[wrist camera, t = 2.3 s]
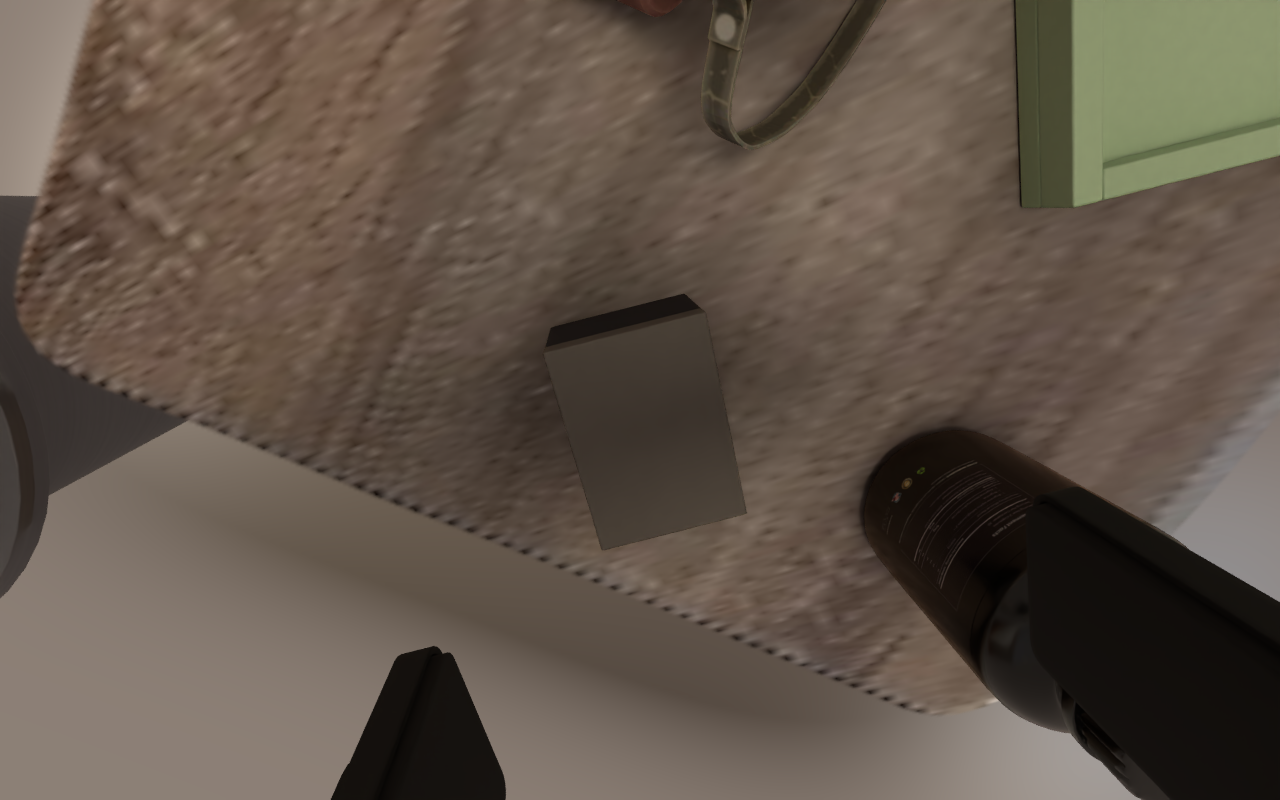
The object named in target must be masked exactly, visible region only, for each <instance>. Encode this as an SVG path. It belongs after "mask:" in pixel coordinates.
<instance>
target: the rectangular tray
mask: <svg viewBox="0 0 1280 800" xmlns="http://www.w3.org/2000/svg"><path fill="white" fill-rule="evenodd" d="M1016 33H1017V66H1018V99H1019V132H1020V165H1021V198H1022V207H1024V208H1042V207H1043V208H1076V207H1080V206H1084V205H1088V204H1091V203H1095V202H1099V201H1101V200H1107V199H1111V198H1115V197H1119V196H1123V195H1127V194H1131V193H1135V192H1139V191H1143V190H1147V189H1151V188H1155V187H1158V186H1162V185H1166V184H1170V183H1174V182H1178V181H1182V180H1186V179H1190V178H1194V177H1198V176H1202V175H1206V174H1210V173H1214V172H1218V171H1222V170H1226V169H1230V168H1233V167H1237V166H1241V165H1245V164H1249V163H1253V162H1257V161H1261V160H1265V159H1269V158H1273V157H1277V156H1280V0H1016Z"/></svg>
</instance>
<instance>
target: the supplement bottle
mask: <svg viewBox="0 0 1280 800" xmlns="http://www.w3.org/2000/svg"><path fill="white" fill-rule="evenodd" d="M1069 487H1081V488H1083V489H1085V490H1087V491H1089V492H1090V493H1092V494H1094V495H1096V496H1097V497H1099V498H1101V499H1103V500H1104V501H1106V502H1108V503H1109V504H1111V505H1113V506H1115V507H1116V508H1118V509H1120V510H1122V511H1123V512H1125V513H1127V514H1128V515H1130V516H1132V517H1134V518H1135V519H1137V520H1139V521H1140V522H1142V523H1144V524H1146V525H1147V526H1149V527H1151V528H1153V529H1154V530H1156V531H1158V532H1159V533H1161V534H1163V535H1165V536H1166V537H1168V538H1170V539H1172V540H1173V541H1175V542H1177V543H1178V544H1180V545H1182V546H1184V545H1183V544H1182V543H1181V542H1179V541H1178V540H1176V539H1175V538H1173V537H1172V536H1170V535H1168V534H1167V533H1165V532H1164V531H1162V530H1160V529H1158V528H1157V527H1155V526H1153V525H1151V524H1150V523H1148V522H1146V521H1144V520H1142V519H1141V518H1139V517H1137V516H1135V515H1133V514H1132V513H1130V512H1128V511H1126V510H1124V509H1122V508H1121V507H1119V506H1117V505H1115V504H1113V503H1112V502H1110V501H1108V500H1106V499H1104V498H1102V497H1101V496H1099V495H1097V494H1095V493H1093V492H1091V491H1090V490H1088V489H1086V488H1084V487H1082V486H1081V485H1079V484H1077V483H1075V482H1073V481H1071V480H1070V479H1068V478H1066V477H1064V476H1062V475H1061V474H1059V473H1057V472H1055V471H1053V470H1051V469H1050V468H1048V467H1046V466H1044V465H1042V464H1041V463H1039V462H1037V461H1035V460H1033V459H1031V458H1030V457H1028V456H1026V455H1024V454H1022V453H1020V452H1019V451H1017V450H1015V449H1013V448H1011V447H1010V446H1007V445H1005V444H1004V443H1002V442H1000V441H998V440H996V439H994V438H991V437H989V436H987V435H984V434H981V433H977V432H972V431H964V430H950V431H942V432H937V433H933V434H930V435H927V436H924V437H921V438H919V439H917V440H915V441H913V442H911V443H909V444H908V445H906V446H904V447H903V448H902V449H900V450H899V451H898V452H896V453H895V454H894V455H893V456H892V457H891V458H890V459H889V460H888V461H887V462H886V463H885V464H884V465H883V467H882V468H881V469H880V471H879V472H878V474H877V475H876V477H875V478H874V480H873V482H872V484H871V487H870V489H869V492H868V495H867V498H866V502H865V509H864V524H865V530H866V534H867V537H868V541H869V543H870V545H871V547H872V549H873V550H874V552H875V554H876V555H877V557H878V558H879V559H880V560H881V562H882V563H883V564H884V565H885V567H886V568H887V569H888V570H889V572H890V573H891V574H892V575H893V577H894V578H895V579H896V580H897V581H898V583H899V584H900V585H901V586H902V587H903V589H904V590H905V591H906V592H907V593H908V595H909V596H910V597H911V598H912V599H913V601H914V602H915V603H916V604H917V605H918V607H919V608H920V609H921V610H922V611H923V612H924V614H925V615H926V616H927V617H928V618H929V620H930V621H931V622H932V623H933V624H934V626H935V627H936V628H937V629H938V630H939V632H940V633H941V634H942V635H943V636H944V638H945V639H946V640H947V641H948V642H949V644H950V645H951V646H952V647H953V648H954V649H955V651H956V652H957V653H958V654H959V655H960V657H961V658H962V659H963V660H964V661H965V663H966V664H967V665H968V666H969V667H970V669H971V670H972V671H973V672H974V673H975V675H976V676H977V677H978V678H979V679H980V680H981V682H982V683H983V684H984V685H985V686H986V688H987V689H988V690H989V691H990V692H991V693H992V694H993V695H994V696H995V697H996V698H997V699H998V700H999V701H1000V702H1001V703H1002V704H1003V705H1004V706H1005V707H1007V708H1008V709H1009V710H1010V711H1012V712H1013V713H1015V714H1016V715H1018V716H1020V717H1021V718H1023V719H1025V720H1027V721H1029V722H1032V723H1034V724H1036V725H1038V726H1041V727H1045V728H1047V729H1050V730H1054V731H1059V732H1064V733H1071V734H1072V736H1073V737H1074V738H1075V739H1076V741H1077V742H1078V743H1079V744H1080V745H1081V746H1082V747H1083V748H1084V749H1085V750H1086V751H1087V752H1088V753H1089V754H1090V755H1091V756H1093V757H1095V758H1096V759H1098V760H1100V761H1101V762H1102V763H1103V764H1104V765H1105V766H1106V767H1107V768H1108V770H1109V771H1110V772H1111V773H1112V774H1113V775H1114V776H1115V777H1116V778H1117V779H1118V780H1119V781H1120V782H1121V783H1122V784H1123V785H1124V786H1125V788H1126V789H1127V790H1128V791H1129V792H1131V793H1132V794H1133V795H1134V796H1136V797H1138V798H1140V799H1141V800H1170V799H1169V798H1168V797H1167V795H1166V794H1165V793H1164V792H1163V791H1162V790H1161V789H1160V788H1159V787H1158V786H1157V785H1156V784H1155V783H1154V782H1153V781H1152V780H1151V779H1150V778H1149V777H1148V776H1147V775H1146V774H1145V773H1144V772H1143V771H1142V770H1141V769H1140V768H1139V767H1138V766H1137V764H1136V763H1135V762H1134V761H1133V760H1132V759H1131V758H1130V757H1129V756H1128V755H1127V754H1126V753H1125V752H1124V751H1123V750H1122V749H1121V748H1120V747H1119V746H1118V745H1117V744H1116V743H1115V742H1114V741H1113V740H1112V739H1111V738H1110V737H1109V736H1108V734H1107V733H1106V732H1105V731H1104V730H1103V729H1102V728H1101V727H1100V726H1099V725H1098V724H1097V723H1096V722H1095V721H1094V720H1093V719H1092V718H1091V717H1090V716H1089V715H1088V714H1087V713H1086V712H1085V711H1084V710H1083V709H1082V708H1081V707H1080V706H1079V705H1078V703H1077V702H1076V701H1075V700H1074V699H1073V698H1072V697H1071V696H1070V695H1069V694H1068V693H1067V692H1066V691H1065V690H1064V689H1063V688H1062V687H1061V686H1060V685H1059V684H1058V683H1057V682H1056V681H1055V680H1054V679H1053V678H1052V677H1051V676H1050V675H1049V674H1048V672H1047V671H1046V670H1045V669H1044V668H1043V667H1042V666H1041V665H1040V663H1039V662H1038V660H1037V659H1036V657H1035V655H1034V653H1033V650H1032V647H1031V642H1030V621H1029V596H1028V571H1027V545H1026V520H1025V516H1026V511H1027V509H1028V508H1030V507H1032V506H1033V501H1034V499H1035V497H1037V496H1038V495H1041V494H1045V493H1049V492H1053V491H1057V490H1061V489H1065V488H1069ZM1184 547H1185V548H1187V547H1186V546H1184ZM1187 549H1188V548H1187Z"/></svg>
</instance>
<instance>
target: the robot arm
mask: <svg viewBox="0 0 1280 800" xmlns="http://www.w3.org/2000/svg"><path fill="white" fill-rule="evenodd" d="M1025 520H1026V545H1027V571H1028V596H1029V621H1030V642H1031V647H1032V650H1033V653H1034V655H1035V657H1036V659H1037V660H1038V662H1039V663H1040V665H1041V666H1042V667H1043V668H1044V669H1045V670H1046V671H1047V672H1048V674H1049V675H1050V676H1051V677H1052V678H1053V679H1054V680H1055V681H1056V682H1057V683H1058V684H1059V685H1060V686H1061V687H1062V688H1063V689H1064V690H1065V691H1066V692H1067V693H1068V694H1069V695H1070V696H1071V697H1072V698H1073V699H1074V700H1075V701H1076V702H1077V703H1078V705H1079V706H1080V707H1081V708H1082V709H1083V710H1084V711H1085V712H1086V713H1087V714H1088V715H1089V716H1090V717H1091V718H1092V719H1093V720H1094V721H1095V722H1096V723H1097V724H1098V725H1099V726H1100V727H1101V728H1102V729H1103V730H1104V731H1105V732H1106V733H1107V734H1108V736H1109V737H1110V738H1111V739H1112V740H1113V741H1114V742H1115V743H1116V744H1117V745H1118V746H1119V747H1120V748H1121V749H1122V750H1123V751H1124V752H1125V753H1126V754H1127V755H1128V756H1129V757H1130V758H1131V759H1132V760H1133V761H1134V762H1135V763H1136V764H1137V766H1138V767H1139V768H1140V769H1141V770H1142V771H1143V772H1144V773H1145V774H1146V775H1147V776H1148V777H1149V778H1150V779H1151V780H1152V781H1153V782H1154V783H1155V784H1156V785H1157V786H1158V787H1159V788H1160V789H1161V790H1162V791H1163V792H1164V793H1165V794H1166V795H1167V797H1168V798H1169V799H1170V800H1280V602H1278V601H1277V600H1275V599H1273V598H1272V597H1270V596H1268V595H1266V594H1265V593H1263V592H1261V591H1259V590H1258V589H1256V588H1254V587H1253V586H1251V585H1249V584H1247V583H1246V582H1244V581H1242V580H1240V579H1239V578H1237V577H1235V576H1233V575H1232V574H1230V573H1228V572H1227V571H1225V570H1223V569H1222V568H1220V567H1218V566H1216V565H1215V564H1213V563H1211V562H1209V561H1208V560H1206V559H1204V558H1203V557H1201V556H1199V555H1197V554H1195V553H1194V552H1192V551H1190V550H1189V549H1187V548H1185V547H1184V546H1182V545H1180V544H1178V543H1177V542H1175V541H1173V540H1172V539H1170V538H1168V537H1166V536H1165V535H1163V534H1161V533H1159V532H1158V531H1156V530H1154V529H1153V528H1151V527H1149V526H1147V525H1146V524H1144V523H1142V522H1140V521H1139V520H1137V519H1135V518H1134V517H1132V516H1130V515H1128V514H1127V513H1125V512H1123V511H1122V510H1120V509H1118V508H1116V507H1115V506H1113V505H1111V504H1109V503H1108V502H1106V501H1104V500H1103V499H1101V498H1099V497H1097V496H1096V495H1094V494H1092V493H1090V492H1089V491H1087V490H1085V489H1083V488H1081V487H1069V488H1065V489H1061V490H1057V491H1053V492H1049V493H1045V494H1041V495H1038V496H1037V497H1035V499H1034V501H1033V506H1032V507H1030V508H1028V509H1027V511H1026V516H1025ZM505 799H506V788H505V780H504V775H503V772H502V770H501V768H500V765H499V763H498V760H497V758H496V756H495V753H494V751H493V749H492V746H491V744H490V742H489V739H488V737H487V734H486V732H485V730H484V727H483V725H482V723H481V720H480V718H479V715H478V713H477V711H476V708H475V706H474V704H473V701H472V699H471V697H470V694H469V692H468V689H467V687H466V685H465V682H464V680H463V678H462V675H461V673H460V671H459V668H458V666H457V664H456V661H455V659H454V657H453V655H452V654H451V653H444V654H442V652H441V650H440V649H439V648H438V647H435V646H432V647H429V648H424V649H421V650H416V651H413V652H409V653H404V654H401V655H399V656H398V657H397V658H396V660H395V661H394V664H393V666H392V668H391V670H390V673H389V675H388V677H387V679H386V682H385V684H384V686H383V688H382V691H381V693H380V695H379V697H378V700H377V702H376V704H375V707H374V709H373V711H372V713H371V716H370V718H369V720H368V722H367V725H366V727H365V729H364V731H363V734H362V736H361V738H360V741H359V743H358V745H357V747H356V750H355V752H354V754H353V757H352V759H351V761H350V763H349V764H348V765H347V767H346V769H345V770H344V772H343V774H342V775H341V778H340V780H339V782H338V784H337V787H336V789H335V791H334V793H333V796H332V798H331V800H505Z"/></svg>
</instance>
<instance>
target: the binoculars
mask: <svg viewBox="0 0 1280 800" xmlns="http://www.w3.org/2000/svg"><path fill="white" fill-rule="evenodd" d="M617 1H619V2H621V3H623V4H626V5H628V6H630V7H633V8H635V9H637V10H639V11H642V12H644V13H646V14H649V15H651V16H654V17H658V16H663V15H665V14H666V13H668V12H670V11H671V10H673V9H674V8H675V7H676V6H677V5H678V4H680V3H681V2H682V1H683V0H617ZM885 1H886V0H857V1H856V3H855V5H854V6H853V8H852V10H851V11H850V13H849V14H848V16H847V18H846V19H845V21H844V23H843V24H842V26H841V27H840V29H839V31H838V32H837V34H836V35H835V37H834V38H833V40H832V41H831V43H830V45H829V46H828V48H827V49H826V51H825V52H824V54H823V55H822V57H821V58H820V60H819V61H818V62H817V64H816V65H815V66H814V68H813V69H812V71H811V72H810V73H809V75H808V76H807V77H806V79H805V80H804V81H803V83H802V84H801V85H800V86H799V87H798V89H797V90H796V91H795V92H794V93H793V94H792V95H791V96H790V97H789V98H788V99H787V100H786V101H785V102H784V103H783V104H782V105H781V106H780V107H779V108H778V109H777V110H776V111H774V112H773V113H772V114H771V115H770V116H769V117H767V118H766V119H765V120H763V121H762V122H760V123H758V124H757V125H755V126H752V127H750V128H748V129H746V130H743V131H741V132H738V133H736V132H735V130H734V128H733V125H732V121H731V107H732V97H733V92H734V87H735V81H736V76H737V71H738V67H739V63H740V58H741V54H742V50H743V46H744V41H745V37H746V33H747V29H748V25H749V20H750V16H751V11H752V7H753V2H754V0H712V3H713V13H712V18H711V23H710V28H709V33H708V38H707V39H709V40H710V41H709V46H708V51H707V56H706V62H705V68H704V75H703V81H702V91H701V110H702V114H703V118H704V119H705V121H706V123H707V125H708V126H709V127H710V129H711V130H712V131H713V132H714V133H715V134H717V135H718V136H720V137H721V138H723V139H726V140H728V141H730V142H732V143H734V144H737V145H739V146H741V147H743V148H746V149H749V150H754V149H758V148H760V147H762V146H765V145H767V144H769V143H771V142H773V141H775V140H777V139H779V138H780V137H782V136H783V135H785V134H786V133H788V132H789V131H790V130H791V129H792V128H793V127H795V126H796V125H797V124H798V123H799V122H800V121H801V120H802V119H803V118H804V117H805V116H806V115H807V114H808V113H809V112H810V111H811V110H812V109H813V108H814V106H815V105H816V104H817V103H818V102H819V101H820V100H821V99H822V97H823V96H824V95H825V93H826V92H827V91H828V90H829V88H830V87H831V85H832V84H833V83H834V81H835V80H836V79H837V77H838V76H839V74H840V73H841V72H842V70H843V69H844V67H845V66H846V64H847V63H848V61H849V60H850V58H851V57H852V55H853V54H854V52H855V51H856V49H857V47H858V46H859V44H860V43H861V41H862V40H863V38H864V36H865V35H866V33H867V32H868V30H869V28H870V27H871V25H872V24H873V22H874V20H875V19H876V17H877V15H878V14H879V12H880V10H881V9H882V7H883V5H884V3H885Z"/></svg>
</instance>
